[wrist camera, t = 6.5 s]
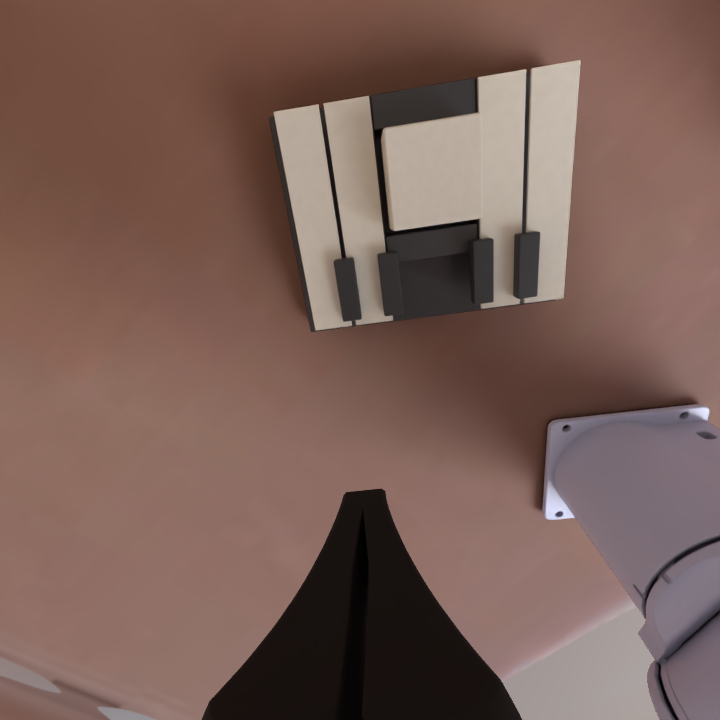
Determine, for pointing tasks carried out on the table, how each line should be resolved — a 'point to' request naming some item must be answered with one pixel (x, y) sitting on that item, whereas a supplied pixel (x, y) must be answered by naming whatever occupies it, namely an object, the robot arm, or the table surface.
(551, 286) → the piano keys trim
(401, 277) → the toy piano
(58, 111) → the table surface
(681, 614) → the robot arm
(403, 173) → the square cream block
